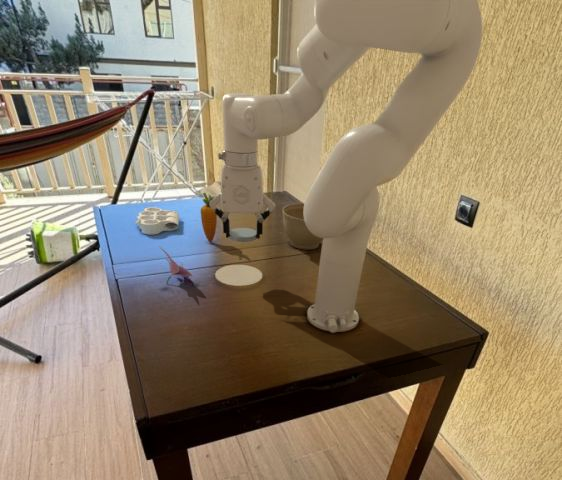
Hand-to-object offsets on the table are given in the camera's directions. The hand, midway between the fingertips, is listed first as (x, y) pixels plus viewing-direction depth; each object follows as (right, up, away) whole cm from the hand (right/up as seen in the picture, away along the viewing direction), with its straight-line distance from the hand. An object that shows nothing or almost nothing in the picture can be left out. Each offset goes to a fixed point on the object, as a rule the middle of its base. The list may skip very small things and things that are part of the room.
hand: (243, 235), depth 101 cm
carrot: (-13, +7, +27) cm, 31 cm away
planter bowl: (+18, +7, +30) cm, 35 cm away
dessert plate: (-2, -9, +8) cm, 12 cm away
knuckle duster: (-33, +16, +36) cm, 51 cm away
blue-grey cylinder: (0, 0, 0) cm, 1 cm away
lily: (-17, -12, +3) cm, 21 cm away
